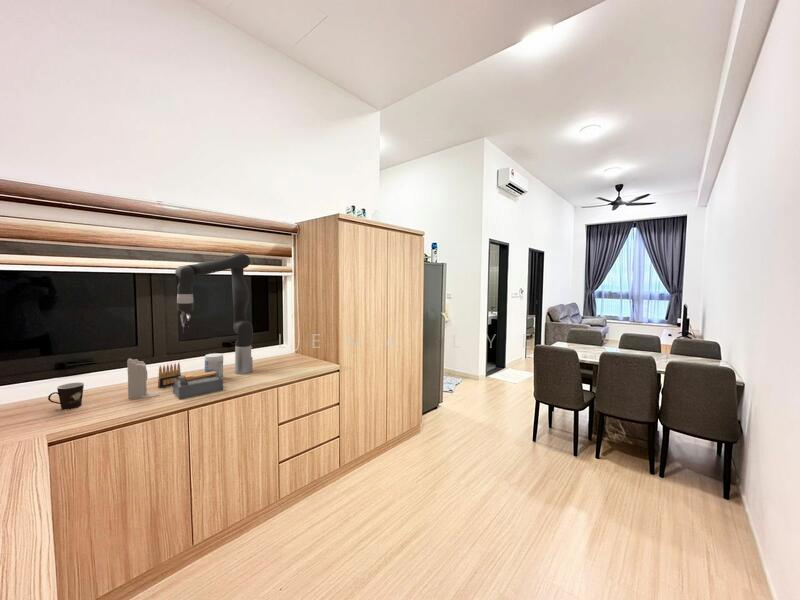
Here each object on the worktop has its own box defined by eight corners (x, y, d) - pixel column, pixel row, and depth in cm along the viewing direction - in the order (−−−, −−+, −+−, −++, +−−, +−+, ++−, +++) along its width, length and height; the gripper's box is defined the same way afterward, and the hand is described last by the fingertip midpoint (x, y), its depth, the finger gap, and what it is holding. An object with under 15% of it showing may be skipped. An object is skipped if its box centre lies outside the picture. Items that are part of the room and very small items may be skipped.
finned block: (215, 383, 185) (215, 367, 184) (223, 390, 175) (223, 373, 175) (172, 391, 171) (172, 374, 170) (179, 399, 161) (178, 381, 160)
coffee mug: (83, 401, 155) (82, 381, 154) (86, 406, 149) (85, 385, 148) (47, 409, 146) (46, 387, 145) (48, 414, 140) (47, 391, 139)
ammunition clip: (159, 388, 176) (158, 366, 175) (157, 387, 177) (157, 365, 176) (181, 383, 185) (181, 362, 184) (180, 382, 186) (179, 361, 185)
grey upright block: (161, 396, 165) (161, 357, 163) (126, 400, 158) (125, 359, 157) (163, 391, 171) (163, 354, 170) (130, 395, 164) (129, 356, 163)
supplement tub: (201, 381, 188) (200, 356, 187) (210, 376, 197) (210, 352, 196) (217, 382, 188) (217, 357, 187) (226, 377, 198) (226, 353, 197)
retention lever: (214, 372, 180) (214, 369, 180) (217, 374, 177) (217, 371, 177) (183, 377, 170) (183, 375, 170) (186, 379, 167) (185, 377, 167)
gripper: (196, 302, 178) (196, 334, 179) (190, 301, 187) (190, 331, 188) (180, 303, 172) (180, 335, 174) (174, 301, 182) (175, 332, 183)
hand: (185, 333), depth 181 cm, fingers closed
